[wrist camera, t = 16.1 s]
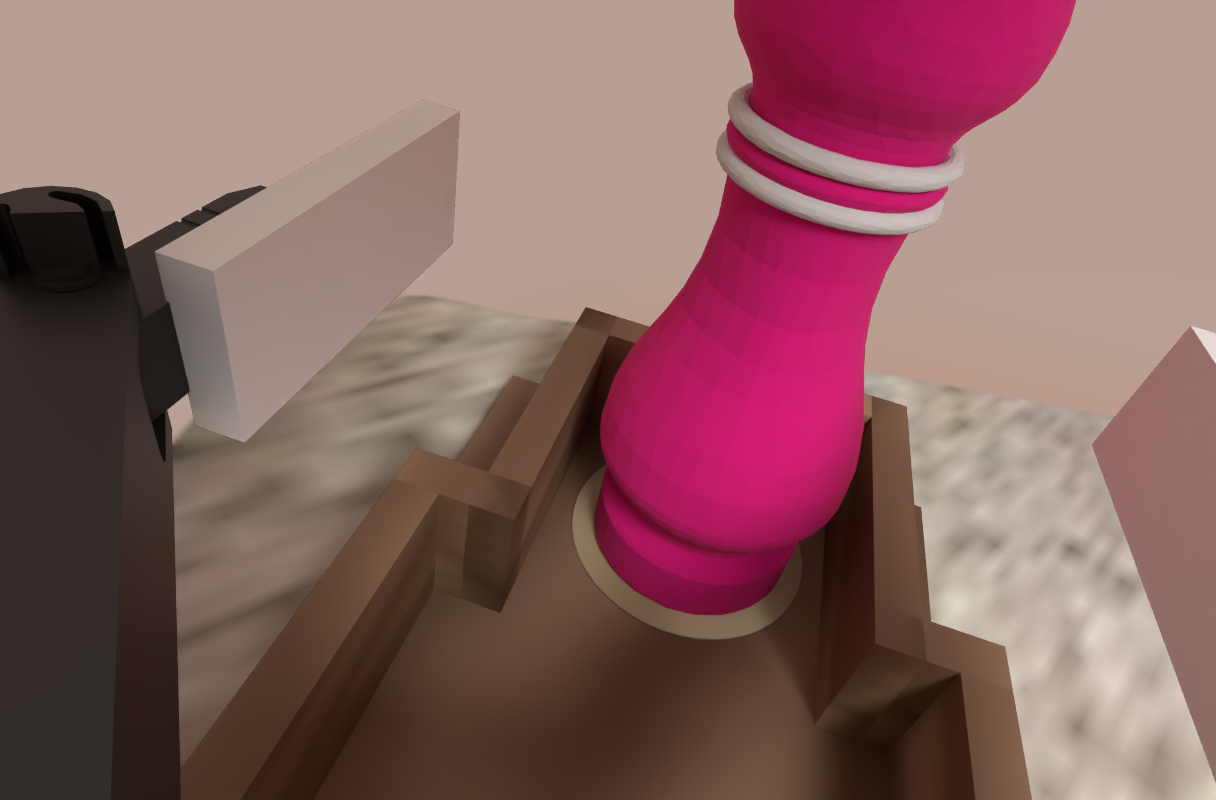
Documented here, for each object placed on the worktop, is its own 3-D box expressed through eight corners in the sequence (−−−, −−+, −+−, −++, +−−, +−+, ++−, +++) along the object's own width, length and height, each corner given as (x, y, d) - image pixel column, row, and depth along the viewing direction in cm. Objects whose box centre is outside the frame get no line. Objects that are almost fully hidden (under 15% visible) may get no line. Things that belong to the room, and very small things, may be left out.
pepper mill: (703, 433, 28) (955, -269, 15) (842, 577, 24) (1349, -226, 11) (536, 492, 24) (687, -376, 11) (667, 674, 20) (1128, -370, 7)
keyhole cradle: (909, 524, 28) (974, 427, 25) (1001, 1884, 9) (1312, 2197, 6) (510, 395, 29) (524, 287, 26) (-89, 1341, 11) (-291, 1366, 8)
